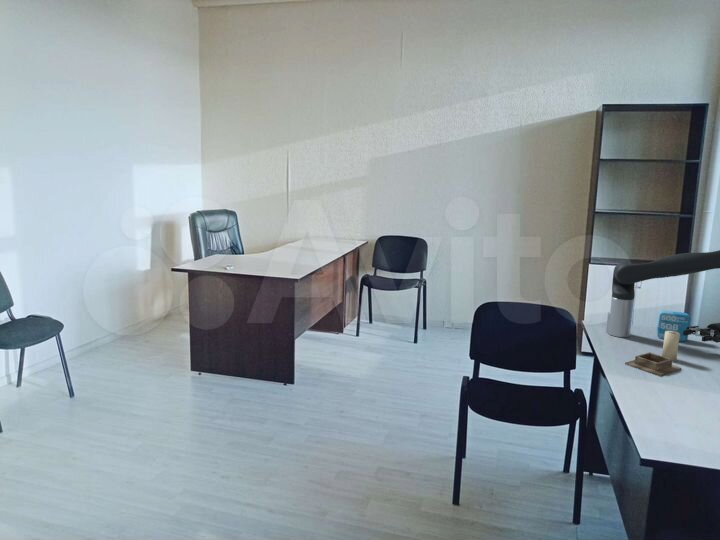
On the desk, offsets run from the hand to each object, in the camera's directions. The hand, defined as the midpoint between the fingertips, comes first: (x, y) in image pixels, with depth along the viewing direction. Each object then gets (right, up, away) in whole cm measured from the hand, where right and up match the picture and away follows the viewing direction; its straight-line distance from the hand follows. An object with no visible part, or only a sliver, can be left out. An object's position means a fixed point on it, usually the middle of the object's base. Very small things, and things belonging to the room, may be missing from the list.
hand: (693, 335), depth 226 cm
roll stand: (-22, -11, -11) cm, 27 cm away
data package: (+5, -4, +24) cm, 25 cm away
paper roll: (-11, -9, -2) cm, 14 cm away
